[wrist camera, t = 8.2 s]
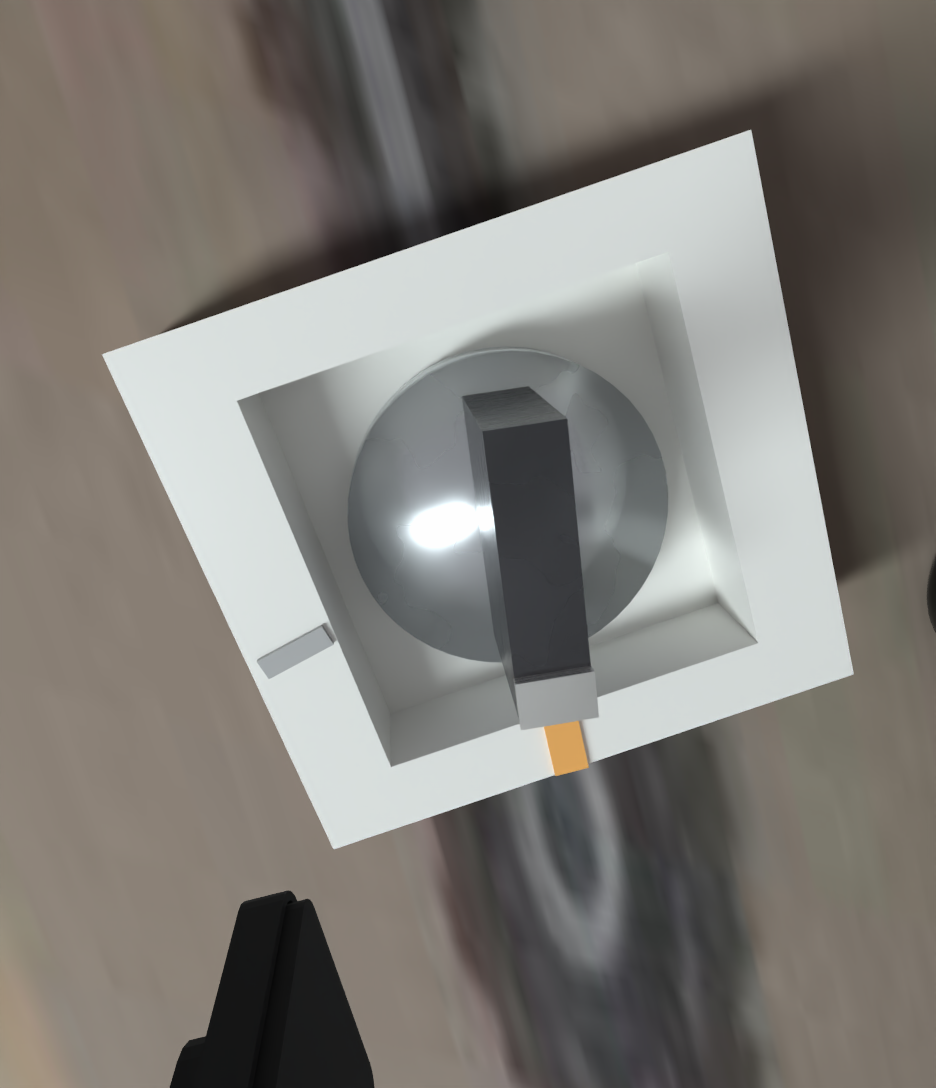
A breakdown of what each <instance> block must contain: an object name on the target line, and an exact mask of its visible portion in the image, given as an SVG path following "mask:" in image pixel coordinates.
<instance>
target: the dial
mask: <svg viewBox="0 0 936 1088" xmlns="http://www.w3.org/2000/svg"><path fill="white" fill-rule="evenodd" d="M667 516H668V486H667V478H666V471H665V467H664V463H663V460H662V456H661V452H660V450H659V447H658V445H657V443H656V440H655V438H654V436H653V433H652V432H651V430H650V428H649V427H648V425H647V423H646V422H645V420H644V418H643V417H642V415H641V414H640V413H639V411H638V410H637V409H636V408H635V406H634V405H633V404H632V403H631V402H630V400H629V399H628V398H627V397H626V396H624V395H623V394H622V393H621V392H620V391H619V390H618V389H617V388H616V387H615V386H614V385H612V384H611V383H609V382H608V381H607V380H605V379H604V378H602V377H601V376H599V375H598V374H597V373H595V372H593V371H591V370H589V369H587V368H585V367H583V366H581V365H579V364H577V363H575V362H573V361H571V360H569V359H567V358H564V357H562V356H559V355H556V354H553V353H550V352H547V351H542V350H537V349H532V348H527V347H509V346H503V347H490V348H482V349H477V350H473V351H468V352H464V353H461V354H458V355H455V356H452V357H450V358H447V359H444V360H442V361H440V362H438V363H436V364H434V365H432V366H430V367H429V368H427V369H425V370H423V371H422V372H420V373H419V374H418V375H416V376H415V377H413V378H412V379H410V380H409V381H408V382H406V383H405V384H404V385H403V386H402V387H401V388H400V389H399V390H398V391H397V392H396V393H394V394H393V395H392V396H391V397H390V399H389V400H388V401H387V402H386V403H385V405H384V406H383V407H382V408H381V409H380V411H379V412H378V413H377V415H376V417H375V418H374V420H373V421H372V423H371V425H370V426H369V428H368V429H367V431H366V434H365V436H364V438H363V440H362V442H361V445H360V447H359V449H358V453H357V456H356V459H355V463H354V466H353V471H352V477H351V483H350V490H349V496H348V517H347V522H348V530H349V539H350V544H351V548H352V552H353V555H354V559H355V562H356V565H357V567H358V569H359V572H360V574H361V577H362V579H363V581H364V583H365V584H366V586H367V588H368V589H369V591H370V593H371V595H372V596H373V598H374V599H375V600H376V601H377V603H378V604H379V605H380V607H381V608H382V609H383V610H384V612H385V613H386V614H387V615H388V616H389V617H390V618H391V619H392V620H393V621H394V622H396V623H397V624H398V625H399V626H400V627H401V628H402V629H404V630H405V631H407V632H408V633H409V634H411V635H412V636H413V637H415V638H416V639H418V640H420V641H422V642H423V643H425V644H427V645H429V646H431V647H433V648H435V649H438V650H440V651H443V652H445V653H447V654H450V655H454V656H457V657H461V658H465V659H469V660H476V661H483V662H502V664H503V667H504V671H505V674H506V677H507V681H508V684H509V688H510V691H511V694H512V698H513V701H514V705H515V708H516V711H517V715H518V718H519V725H520V728H521V730H527V729H533V728H539V727H545V726H550V725H556V724H562V723H568V722H574V721H580V720H586V719H592V718H598V717H599V711H598V700H597V690H596V679H595V671H594V669H593V667H592V666H591V662H590V651H589V641H588V638H589V637H591V636H592V635H594V634H595V633H597V632H598V631H600V630H601V629H603V628H604V627H605V626H606V625H608V624H609V623H610V622H611V621H612V620H614V619H615V618H616V617H617V616H618V615H619V614H620V613H621V612H622V611H623V610H624V609H625V608H626V607H627V606H628V604H629V603H630V602H631V601H632V600H633V598H634V597H635V596H636V594H637V593H638V592H639V590H640V589H641V588H642V586H643V584H644V583H645V581H646V579H647V577H648V576H649V574H650V572H651V570H652V568H653V566H654V564H655V561H656V559H657V557H658V554H659V552H660V549H661V545H662V541H663V538H664V534H665V530H666V523H667Z"/></svg>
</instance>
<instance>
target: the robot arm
mask: <svg viewBox="0 0 936 1088" xmlns="http://www.w3.org/2000/svg"><path fill="white" fill-rule="evenodd" d="M170 1088H374V1080H373V1074H372V1069H371V1066H370V1062H369V1059H368V1056H367V1054H366V1051H365V1048H364V1045H363V1042H362V1040H361V1037H360V1034H359V1031H358V1028H357V1026H356V1023H355V1020H354V1017H353V1014H352V1012H351V1009H350V1006H349V1003H348V1000H347V998H346V995H345V992H344V989H343V986H342V984H341V981H340V978H339V975H338V972H337V970H336V967H335V964H334V961H333V958H332V956H331V953H330V950H329V947H328V945H327V942H326V939H325V936H324V933H323V931H322V928H321V925H320V922H319V919H318V917H317V914H316V911H315V908H314V906H313V904H312V902H311V901H310V900H309V899H305V900H301V901H297V900H296V897H295V895H294V894H293V893H292V892H291V891H284V892H280V893H276V894H272V895H268V896H264V897H260V898H256V899H252V900H248V901H244V902H243V903H242V904H241V906H240V908H239V911H238V915H237V919H236V923H235V926H234V930H233V934H232V938H231V942H230V946H229V950H228V953H227V957H226V961H225V965H224V969H223V973H222V977H221V981H220V984H219V988H218V992H217V996H216V1000H215V1004H214V1008H213V1011H212V1015H211V1019H210V1023H209V1027H208V1031H207V1035H206V1036H205V1037H201V1038H197V1039H193V1040H189V1041H188V1043H187V1044H186V1045H185V1046H184V1047H183V1049H182V1051H181V1054H180V1056H179V1059H178V1061H177V1064H176V1068H175V1071H174V1075H173V1078H172V1082H171V1085H170Z"/></svg>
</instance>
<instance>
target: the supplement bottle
mask: <svg viewBox="0 0 936 1088" xmlns="http://www.w3.org/2000/svg"><path fill="white" fill-rule="evenodd" d="M927 605H928V612H929V617H930V620H931V623H932V626H933V628H934V630H935V632H936V559H935V561H934V564H933V566H932V569H931V573H930V576H929V581H928V588H927Z"/></svg>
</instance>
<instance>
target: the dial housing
mask: <svg viewBox="0 0 936 1088" xmlns="http://www.w3.org/2000/svg"><path fill="white" fill-rule="evenodd" d="M503 346H509V347H527V348H532V349H537V350H542V351H547V352H550V353H553V354H556V355H559V356H562V357H564V358H567V359H569V360H571V361H573V362H575V363H577V364H579V365H581V366H583V367H585V368H587V369H589V370H591V371H593V372H595V373H597V374H598V375H599V376H601V377H602V378H604V379H605V380H607V381H608V382H609V383H611V384H612V385H614V386H615V387H616V388H617V389H618V390H619V391H620V392H621V393H622V394H623V395H624V396H626V397H627V398H628V399H629V400H630V402H631V403H632V404H633V405H634V406H635V408H636V409H637V410H638V411H639V413H640V414H641V415H642V417H643V418H644V420H645V422H646V423H647V425H648V427H649V428H650V430H651V432H652V433H653V436H654V438H655V440H656V443H657V445H658V447H659V450H660V452H661V456H662V460H663V463H664V467H665V471H666V478H667V486H668V516H667V523H666V530H665V534H664V538H663V541H662V545H661V549H660V552H659V554H658V557H657V559H656V561H655V564H654V566H653V568H652V570H651V572H650V574H649V576H648V577H647V579H646V581H645V583H644V584H643V586H642V588H641V589H640V590H639V592H638V593H637V594H636V596H635V597H634V598H633V600H632V601H631V602H630V603H629V604H628V606H627V607H626V608H625V609H624V610H623V611H622V612H621V613H620V614H619V615H618V616H617V617H616V618H615V619H614V620H612V621H611V622H610V623H609V624H608V625H606V626H605V627H604V628H603V629H601V630H600V631H598V632H597V633H595V634H594V635H592V636H591V637H589V638H588V641H589V651H590V662H591V666H592V667H593V669H594V671H595V679H596V690H597V700H598V711H599V717H598V718H592V719H586V720H580V721H574V722H568V723H562V724H556V725H550V726H545V727H539V728H533V729H527V730H521V728H520V725H519V718H518V715H517V711H516V708H515V705H514V701H513V698H512V694H511V691H510V688H509V684H508V681H507V677H506V674H505V671H504V667H503V664H502V662H483V661H476V660H469V659H465V658H461V657H457V656H454V655H450V654H447V653H445V652H443V651H440V650H438V649H435V648H433V647H431V646H429V645H427V644H425V643H423V642H422V641H420V640H418V639H416V638H415V637H413V636H412V635H411V634H409V633H408V632H407V631H405V630H404V629H402V628H401V627H400V626H399V625H398V624H397V623H396V622H394V621H393V620H392V619H391V618H390V617H389V616H388V615H387V614H386V613H385V612H384V610H383V609H382V608H381V607H380V605H379V604H378V603H377V601H376V600H375V599H374V598H373V596H372V595H371V593H370V591H369V589H368V588H367V586H366V584H365V583H364V581H363V579H362V577H361V574H360V572H359V569H358V567H357V565H356V562H355V559H354V555H353V552H352V548H351V544H350V539H349V530H348V522H347V517H348V496H349V490H350V483H351V477H352V471H353V466H354V463H355V459H356V456H357V453H358V449H359V447H360V445H361V442H362V440H363V438H364V436H365V434H366V431H367V429H368V428H369V426H370V425H371V423H372V421H373V420H374V418H375V417H376V415H377V413H378V412H379V411H380V409H381V408H382V407H383V406H384V405H385V403H386V402H387V401H388V400H389V399H390V397H391V396H392V395H393V394H394V393H396V392H397V391H398V390H399V389H400V388H401V387H402V386H403V385H404V384H405V383H406V382H408V381H409V380H410V379H412V378H413V377H415V376H416V375H418V374H419V373H420V372H422V371H423V370H425V369H427V368H429V367H430V366H432V365H434V364H436V363H438V362H440V361H442V360H444V359H447V358H450V357H452V356H455V355H458V354H461V353H464V352H468V351H473V350H477V349H482V348H490V347H503ZM102 355H103V357H104V360H105V362H106V364H107V366H108V368H109V370H110V372H111V375H112V377H113V379H114V381H115V383H116V385H117V387H118V389H119V392H120V394H121V396H122V398H123V400H124V402H125V404H126V407H127V409H128V411H129V413H130V415H131V417H132V419H133V422H134V424H135V426H136V428H137V430H138V432H139V434H140V436H141V439H142V441H143V443H144V445H145V447H146V449H147V451H148V454H149V456H150V458H151V460H152V462H153V464H154V466H155V469H156V471H157V473H158V475H159V477H160V479H161V481H162V484H163V486H164V488H165V490H166V492H167V494H168V496H169V498H170V501H171V503H172V505H173V507H174V509H175V511H176V513H177V516H178V518H179V520H180V522H181V524H182V526H183V528H184V531H185V533H186V535H187V537H188V539H189V541H190V543H191V546H192V548H193V550H194V552H195V554H196V556H197V558H198V560H199V563H200V565H201V567H202V569H203V571H204V573H205V575H206V578H207V580H208V582H209V584H210V586H211V588H212V590H213V593H214V595H215V597H216V599H217V601H218V603H219V605H220V607H221V610H222V612H223V614H224V616H225V618H226V620H227V622H228V625H229V627H230V629H231V631H232V633H233V635H234V637H235V640H236V642H237V644H238V646H239V648H240V650H241V652H242V655H243V657H244V659H245V661H246V663H247V665H248V667H249V669H250V672H251V674H252V676H253V678H254V680H255V682H256V684H257V687H258V689H259V691H260V693H261V695H262V697H263V699H264V702H265V704H266V706H267V708H268V710H269V712H270V714H271V717H272V719H273V721H274V723H275V725H276V727H277V729H278V731H279V734H280V736H281V738H282V740H283V742H284V744H285V746H286V749H287V751H288V753H289V755H290V757H291V759H292V761H293V764H294V766H295V768H296V770H297V772H298V774H299V776H300V778H301V781H302V783H303V785H304V787H305V789H306V791H307V793H308V796H309V798H310V800H311V802H312V804H313V806H314V808H315V811H316V813H317V815H318V817H319V819H320V821H321V823H322V826H323V828H324V830H325V832H326V834H327V836H328V838H329V840H330V843H331V845H332V847H333V849H336V848H339V847H342V846H345V845H348V844H351V843H354V842H357V841H360V840H363V839H366V838H369V837H372V836H375V835H378V834H381V833H384V832H386V831H389V830H392V829H395V828H398V827H401V826H404V825H407V824H410V823H413V822H416V821H419V820H422V819H425V818H428V817H431V816H434V815H437V814H440V813H443V812H446V811H449V810H452V809H455V808H458V807H461V806H464V805H467V804H470V803H473V802H476V801H479V800H482V799H485V798H488V797H490V796H493V795H496V794H499V793H502V792H505V791H508V790H511V789H514V788H517V787H520V786H523V785H526V784H529V783H532V782H535V781H538V780H541V779H544V778H547V777H550V776H553V775H555V776H558V775H562V774H566V773H569V772H573V771H577V770H581V769H585V768H589V766H588V764H589V763H591V762H594V761H597V760H600V759H603V758H606V757H609V756H612V755H615V754H618V753H621V752H624V751H627V750H630V749H633V748H636V747H639V746H642V745H645V744H648V743H651V742H654V741H657V740H660V739H663V738H666V737H669V736H672V735H675V734H678V733H681V732H684V731H687V730H690V729H692V728H695V727H698V726H701V725H704V724H707V723H710V722H713V721H716V720H719V719H722V718H725V717H728V716H731V715H734V714H737V713H740V712H743V711H746V710H749V709H752V708H755V707H758V706H761V705H764V704H767V703H770V702H773V701H776V700H779V699H782V698H785V697H788V696H791V695H793V694H796V693H799V692H802V691H805V690H808V689H811V688H814V687H817V686H820V685H823V684H826V683H829V682H832V681H835V680H838V679H841V678H844V677H847V676H850V675H853V668H852V663H851V658H850V652H849V647H848V642H847V636H846V631H845V626H844V620H843V615H842V610H841V605H840V599H839V594H838V589H837V583H836V578H835V573H834V567H833V562H832V557H831V551H830V546H829V541H828V535H827V530H826V525H825V520H824V514H823V509H822V504H821V498H820V493H819V488H818V482H817V477H816V472H815V466H814V461H813V456H812V450H811V445H810V440H809V434H808V429H807V424H806V419H805V413H804V408H803V403H802V397H801V392H800V387H799V381H798V376H797V371H796V365H795V360H794V355H793V349H792V344H791V339H790V333H789V328H788V323H787V318H786V312H785V307H784V302H783V296H782V291H781V286H780V280H779V275H778V270H777V264H776V259H775V254H774V248H773V243H772V238H771V232H770V227H769V222H768V217H767V211H766V206H765V201H764V195H763V190H762V185H761V179H760V174H759V169H758V163H757V158H756V153H755V147H754V142H753V137H752V131H751V130H748V131H745V132H743V133H740V134H737V135H734V136H731V137H728V138H725V139H722V140H719V141H717V142H714V143H711V144H708V145H705V146H702V147H699V148H696V149H693V150H691V151H688V152H685V153H682V154H679V155H676V156H673V157H670V158H667V159H665V160H662V161H659V162H656V163H653V164H650V165H647V166H644V167H642V168H639V169H636V170H633V171H630V172H627V173H624V174H621V175H618V176H616V177H613V178H610V179H607V180H604V181H601V182H598V183H595V184H592V185H590V186H587V187H584V188H581V189H578V190H575V191H572V192H569V193H566V194H564V195H561V196H558V197H555V198H552V199H549V200H546V201H543V202H541V203H538V204H535V205H532V206H529V207H526V208H523V209H520V210H517V211H515V212H512V213H509V214H506V215H503V216H500V217H497V218H494V219H491V220H489V221H486V222H483V223H480V224H477V225H474V226H471V227H468V228H465V229H463V230H460V231H457V232H454V233H451V234H448V235H445V236H442V237H440V238H437V239H434V240H431V241H428V242H425V243H422V244H419V245H416V246H414V247H411V248H408V249H405V250H402V251H399V252H396V253H393V254H390V255H388V256H385V257H382V258H379V259H376V260H373V261H370V262H367V263H364V264H362V265H359V266H356V267H353V268H350V269H347V270H344V271H341V272H339V273H336V274H333V275H330V276H327V277H324V278H321V279H318V280H315V281H313V282H310V283H307V284H304V285H301V286H298V287H295V288H292V289H289V290H287V291H284V292H281V293H278V294H275V295H272V296H269V297H266V298H263V299H261V300H258V301H255V302H252V303H249V304H246V305H243V306H240V307H238V308H235V309H232V310H229V311H226V312H223V313H220V314H217V315H214V316H212V317H209V318H206V319H203V320H200V321H197V322H194V323H191V324H188V325H186V326H183V327H180V328H177V329H174V330H171V331H168V332H165V333H162V334H160V335H157V336H154V337H151V338H148V339H145V340H142V341H139V342H137V343H134V344H131V345H128V346H125V347H122V348H119V349H116V350H113V351H111V352H108V353H105V354H102Z"/></svg>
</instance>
